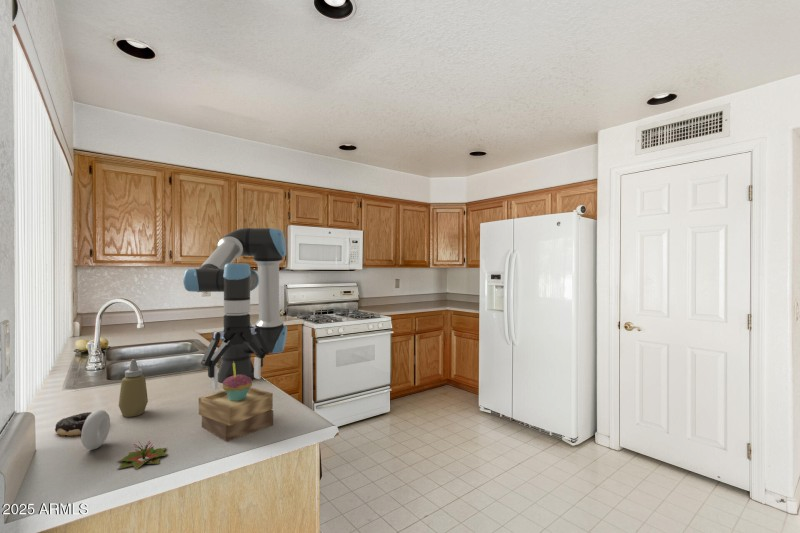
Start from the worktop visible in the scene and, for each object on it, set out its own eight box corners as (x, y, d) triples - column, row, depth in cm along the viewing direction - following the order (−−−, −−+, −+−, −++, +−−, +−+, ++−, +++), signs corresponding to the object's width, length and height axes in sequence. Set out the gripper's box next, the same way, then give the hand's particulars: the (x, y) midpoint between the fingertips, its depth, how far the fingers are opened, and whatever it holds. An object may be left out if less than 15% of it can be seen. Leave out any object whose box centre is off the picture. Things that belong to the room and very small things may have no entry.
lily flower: (164, 468, 97) (164, 450, 97) (106, 476, 94) (106, 457, 94) (175, 446, 109) (175, 430, 109) (124, 452, 105) (124, 435, 105)
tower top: (241, 400, 132) (241, 385, 132) (272, 409, 124) (272, 393, 124) (198, 414, 119) (198, 397, 119) (229, 425, 111) (229, 407, 111)
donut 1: (93, 436, 114) (93, 422, 114) (45, 439, 112) (45, 425, 112) (112, 421, 125) (112, 408, 125) (68, 424, 123) (68, 411, 123)
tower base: (247, 414, 132) (247, 399, 132) (273, 426, 123) (273, 410, 123) (201, 428, 121) (201, 412, 121) (225, 443, 111) (225, 425, 111)
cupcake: (241, 404, 117) (241, 363, 117) (215, 401, 119) (216, 361, 118) (257, 395, 125) (257, 357, 125) (233, 392, 127) (233, 355, 127)
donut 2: (93, 456, 102) (93, 417, 102) (77, 457, 102) (78, 418, 101) (112, 439, 112) (112, 403, 112) (98, 440, 111) (98, 404, 111)
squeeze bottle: (115, 414, 130) (115, 359, 130) (144, 407, 136) (144, 355, 136) (121, 420, 125) (122, 363, 125) (151, 413, 131) (151, 359, 131)
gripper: (267, 309, 133) (267, 372, 134) (188, 316, 114) (188, 389, 115) (279, 311, 128) (279, 376, 129) (199, 319, 110) (199, 395, 110)
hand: (236, 383), depth 122 cm, fingers open, 13 cm apart
